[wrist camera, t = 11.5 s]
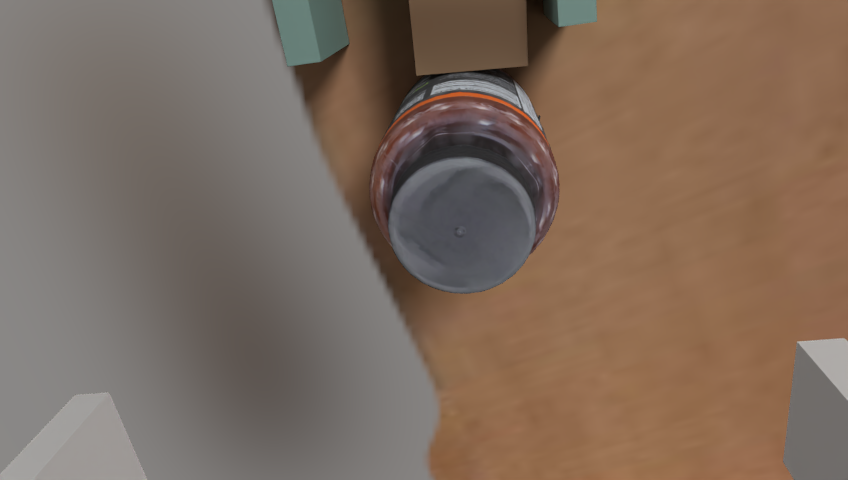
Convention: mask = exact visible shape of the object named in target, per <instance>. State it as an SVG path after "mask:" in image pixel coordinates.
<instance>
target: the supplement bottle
mask: <svg viewBox="0 0 848 480" xmlns="http://www.w3.org/2000/svg"><path fill="white" fill-rule="evenodd" d="M539 120H540V115H539V117H537V114H536V113H535V110H534V107H533V105H532V103H531V102H530V100H529V98H528V96H527V95H526V93H525V92H524V90H523V89H522V87H521V86H520V85H519V84H518V82H516V81H515V80H514V79H513V78H512V77H511V76H510V75H508V74H507V73H506V72H504V71H503V70H501V69H499V68H498V69H487V70H475V71H464V72H452V73H441V74H430V75H425V76H423V77H422V78H421V79H420V80H419V81H418V82H417V83H416V84H415V85H414V86H413V87H412V88H411V90H410V91H409V92H408V93H407V95H406V96H405V98H404V100H403V101H402V104H401V105H400V107H399V109H398V111H397V113H396V114H395V116H394V118H393V120H392V122H391V124H390V126H389V128H388V129H387V131H386V133H385V135H384V137H383V139H382V141H381V143H380V145H379V147H378V150H377V152H376V154H375V157H374V160H373V164H372V169H371V175H370V201H371V206H372V211H373V215H374V217H375V220H376V222H377V225H378V227H379V229H380V231H381V233H382V234H383V236H384V237H385V239H386V240H387V241H388V243H389V244H390V245H391V246H392V248H393V250H394V253H395V255H396V256H397V258H398V260H399V261H400V262H401V264H402V265H403V267H404V268H405V269H406V270H407V271H408V272H409V273H410V274H411V275H412V276H414V277H415V278H417V279H418V280H419V281H421V282H422V283H424V284H426V285H428V286H430V287H433V288H435V289H438V290H442V291H446V292H450V293H474V292H482V291H485V290H488V289H491V288H493V287H495V286H497V285H499V284H501V283H503V282H505V281H506V280H507V279H509V278H510V277H512V276H513V275H514V274H515V273H516V272H517V271H518V270H519V269H520V268H521V266H522V265H523V264H524V262H525V261H526V259H527V258H528V256H529V255H530V254H531V253H532V252H533V251H534V250H535V249H536V247H537V246H538V245H539V244H540V243H541V242H542V241H543V239H544V237H545V235H546V233H547V232H548V230H549V228H550V226H551V224H552V222H553V219H554V216H555V213H556V210H557V206H558V200H559V176H558V171H557V167H556V163H555V160H554V157H553V154H552V151H551V148H550V145H549V144H548V142H547V139H546V136H545V133H544V130H543V128H542V126H541V124H540V122H539Z"/></svg>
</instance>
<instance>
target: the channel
mask: <svg viewBox="0 0 848 480" xmlns="http://www.w3.org/2000/svg"><path fill="white" fill-rule="evenodd" d="M272 2H273V7H274V11H275V15H276V19H277V24H278V28H279V32H280V36H281V41H282V45H283V49H284V54H285V58H286V62H287V66H295V65H302V64H308V63H315V62H321V61H323V60H324V59H326V58H328V57H329V56H331V55H332V54H334V53H336V52H337V51H339V50H340V49H342V48H343V47H345V46H347V45H348V44H349V39H348V34H347V28H346V23H345V18H344V13H343V7H342V2H341V0H272ZM543 11H544V15H545V16H546V17H547V18H548V19H550V20H551V21H552V22H553V23H554V24H556V25H557V26H558V27H563V26H569V25H576V24H583V23H590V22H597V10H596V0H543Z"/></svg>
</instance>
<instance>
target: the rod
mask: <svg viewBox="0 0 848 480" xmlns="http://www.w3.org/2000/svg"><path fill="white" fill-rule="evenodd" d="M409 8H410V18H411V28H412V38H413V48H414V57H415V67H416V76H418V75H430V74H441V73H452V72H464V71H475V70H487V69H498V68H509V67H521V66H528V47H527V11H526V0H409Z"/></svg>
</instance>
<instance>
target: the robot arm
mask: <svg viewBox="0 0 848 480" xmlns="http://www.w3.org/2000/svg"><path fill="white" fill-rule="evenodd" d="M783 462H784V464H785V466H786V467H787V469H788V471H789V472H790V474H791V475H792V477H793V479H794V480H848V341H847V340H846V339H845V338H840V339H827V340H813V341H800V342H797V347H796V356H795V364H794V373H793V382H792V390H791V399H790V407H789V416H788V425H787V433H786V442H785V450H784V459H783ZM0 480H147V478H146V476H145V474H144V471H143V469H142V467H141V464H140V462H139V460H138V458H137V455H136V453H135V451H134V448H133V446H132V444H131V441H130V439H129V437H128V435H127V432H126V430H125V428H124V425H123V423H122V421H121V419H120V416H119V414H118V412H117V409H116V407H115V405H114V402H113V400H112V398H111V396H110V393H109V392H108V393H107V392H106V393H93V394H79V395H74V396H73V398H71V399H70V401H69V402H68V403H67V404H66V405H65V406H64V407H63V408H62V409H61V410H60V411H59V412H58V413H57V414H56V415H55V416H54V417H53V418H52V420H51V421H50V422H49V423H48V424H47V425H46V426H45V427H44V428H43V429H42V430H41V431H40V432H39V433H38V434H37V435H36V436H35V438H34V439H33V440H32V441H31V442H30V443H29V444H28V445H27V446H26V447H25V448H24V449H23V450H22V451H21V452H20V453H19V455H17V457H16V458H15V459H14V460H13V461H12V462H11V463H10V464H9V465H8V466H7V467H6V468H5V469H4V470H3V471H2V473H0Z"/></svg>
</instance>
